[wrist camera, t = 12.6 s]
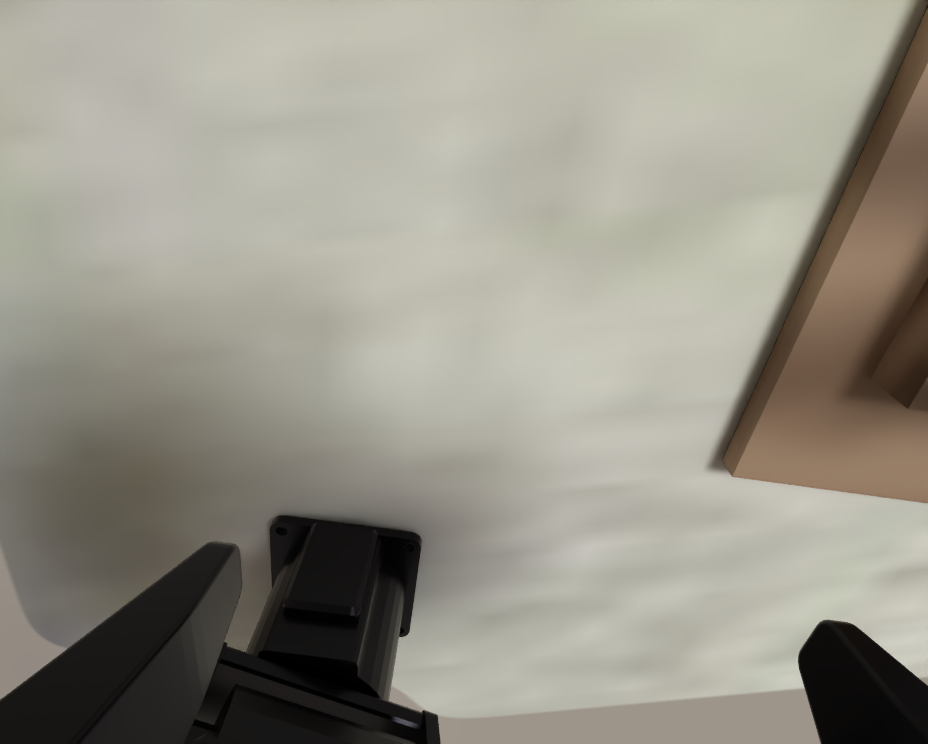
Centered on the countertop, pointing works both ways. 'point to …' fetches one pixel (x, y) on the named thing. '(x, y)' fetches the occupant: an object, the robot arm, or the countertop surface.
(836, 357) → the brown wooden board
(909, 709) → the robot arm
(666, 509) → the countertop surface
